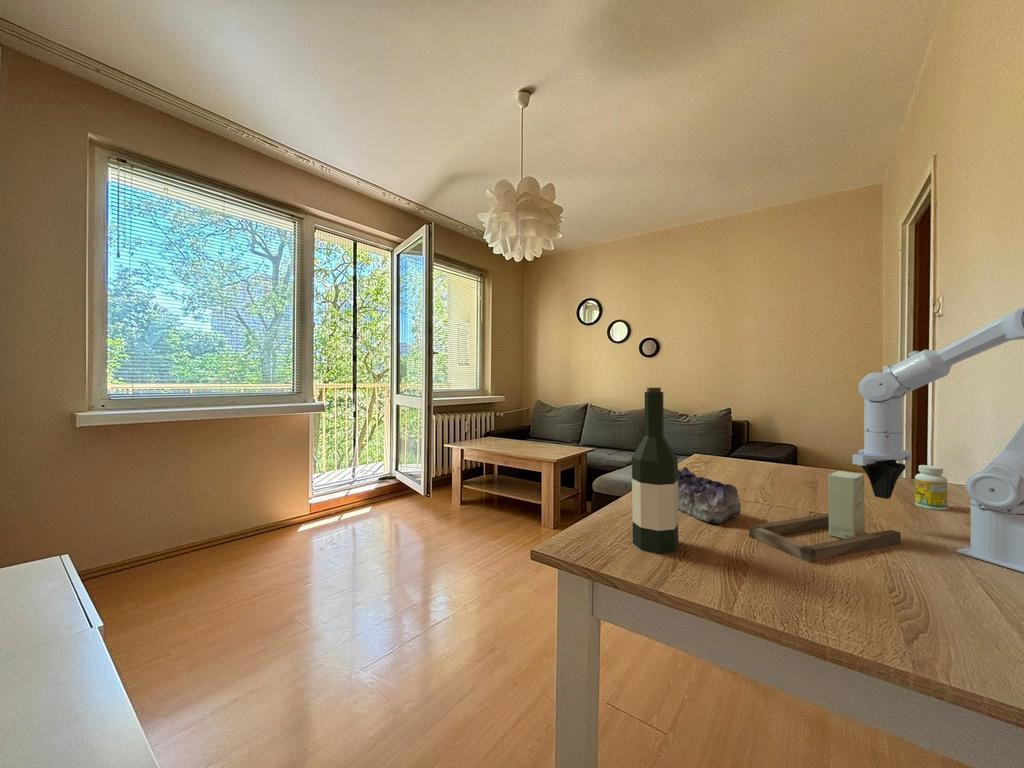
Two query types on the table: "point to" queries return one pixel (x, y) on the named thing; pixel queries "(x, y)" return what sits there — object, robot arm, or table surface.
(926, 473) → the supplement bottle
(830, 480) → the skincare box
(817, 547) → the cradle
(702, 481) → the geode
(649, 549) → the wine bottle
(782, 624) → the table surface
